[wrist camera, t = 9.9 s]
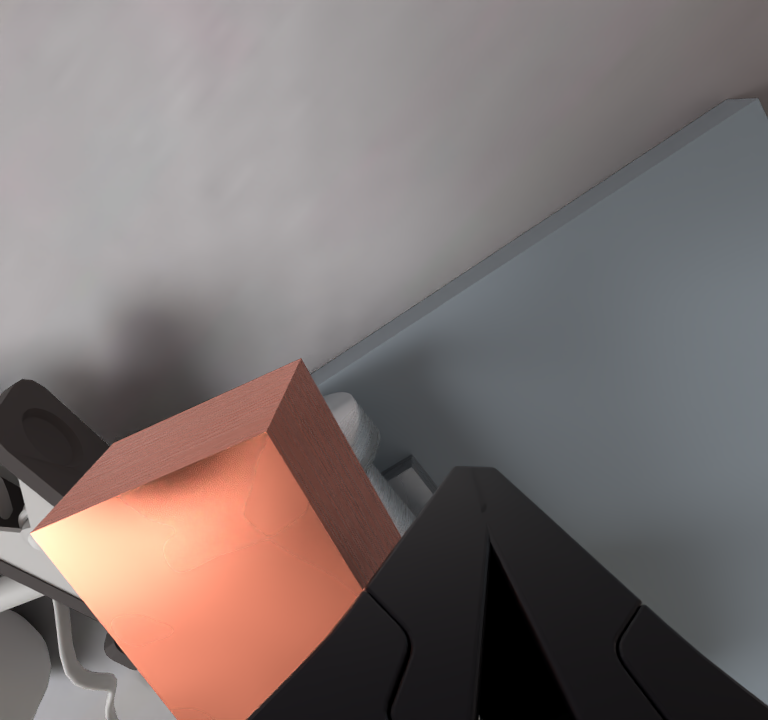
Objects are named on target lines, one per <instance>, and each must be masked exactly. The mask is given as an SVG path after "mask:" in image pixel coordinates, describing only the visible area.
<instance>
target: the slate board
mask: <svg viewBox="0 0 768 720" xmlns="http://www.w3.org/2000/svg"><path fill="white" fill-rule="evenodd" d="M311 377H312V379H313V380H314V382H315V384H316V386H317V387H318V389H319V391H320V393H321V395H322V396H326V395H329V394H332V393H337V392H346V393H349V394H351V395H352V396H353V398H354V399H355V400H356V402H357V403H358V404H359V405H360V407H361V408H362V409H363V410H364V412H365V413H366V414H367V416H368V417H369V418H370V419H371V421H372V422H373V423H374V425H375V426H376V427H377V428H378V430H379V433H380V445H379V449H378V452H377V454H376V457H375V459H374V461H373V464H374V465H375V467H376V468H377V469H378V470H379V472H380V473H381V472H382V471H384V470H386V469H387V468H389V467H391V466H392V465H394V464H396V463H397V462H399V461H401V460H402V459H404V458H406V457H407V456H409V455H411V454H413V456H414V457H415V458H416V459H417V461H418V462H419V463H420V465H421V466H422V467H423V468H424V470H425V471H426V472H427V474H428V475H429V476H430V478H431V479H432V480H433V481H434V483H435V484H436V485H437V487H439V486H440V484H441V483H442V482H443V480H444V479H445V478H446V476H447V475H448V473H449V472H450V471H451V469H452V468H453V467H455V466H478V467H494V468H496V469H497V470H499V471H500V472H501V473H502V474H503V475H504V476H505V477H506V478H507V479H508V480H510V481H511V482H512V483H513V484H514V485H515V486H516V487H517V488H518V489H519V490H521V491H522V492H523V493H524V494H525V495H526V496H527V497H528V498H529V499H530V500H532V501H533V502H534V503H535V504H536V505H537V506H538V507H539V508H540V509H541V510H543V511H544V512H545V513H546V514H547V515H548V516H549V517H550V518H551V519H552V520H554V521H555V522H556V523H557V524H558V525H559V526H560V527H561V528H562V529H563V530H565V531H566V532H567V533H568V534H569V535H570V536H571V537H572V538H573V539H574V540H576V541H577V542H578V543H579V544H580V545H581V546H582V547H583V548H584V549H585V550H587V551H588V552H589V553H590V554H591V555H592V556H593V557H594V558H595V559H596V560H598V561H599V562H600V563H601V564H602V565H603V566H604V567H605V568H606V569H607V570H609V571H610V572H611V573H612V574H613V575H614V576H615V577H616V578H617V579H618V580H620V581H621V582H622V583H623V584H624V585H625V586H626V587H627V588H628V589H629V590H631V591H632V592H633V593H634V594H635V595H636V596H637V597H638V598H639V599H640V600H641V601H642V603H643V605H647V606H648V607H650V608H651V609H652V610H653V611H654V612H655V613H656V614H657V615H658V616H660V617H661V618H662V619H663V620H664V621H665V622H666V623H667V624H668V625H669V626H671V627H672V628H673V629H674V630H675V631H676V632H678V633H679V634H680V635H681V636H682V637H683V638H685V639H686V640H687V641H688V642H689V643H690V644H691V645H693V646H694V647H695V648H696V649H697V650H698V651H700V652H701V653H702V654H703V655H704V656H705V657H707V658H708V659H709V660H710V661H712V662H713V663H714V664H716V665H717V666H718V667H719V668H721V669H722V670H723V671H724V672H726V673H727V674H728V675H729V676H731V677H732V678H733V679H734V680H736V681H737V682H738V683H740V684H741V685H742V686H743V687H745V688H746V689H747V690H748V691H750V692H751V693H752V694H754V695H755V696H756V697H758V698H759V699H760V700H761V701H763V702H764V703H765V704H767V705H768V118H767V116H766V113H765V111H764V109H763V107H762V105H761V103H760V101H759V99H758V98H749V99H727V100H725V101H724V102H722V103H721V104H719V105H717V106H716V107H714V108H713V109H711V110H710V111H708V112H707V113H705V114H704V115H702V116H701V117H699V118H698V119H696V120H695V121H693V122H692V123H690V124H689V125H687V126H686V127H684V128H683V129H681V130H680V131H678V132H677V133H675V134H674V135H672V136H671V137H669V138H668V139H666V140H665V141H663V142H662V143H660V144H659V145H657V146H655V147H654V148H652V149H651V150H649V151H648V152H646V153H645V154H643V155H642V156H640V157H639V158H637V159H636V160H634V161H633V162H631V163H630V164H628V165H627V166H625V167H624V168H622V169H621V170H619V171H618V172H616V173H615V174H613V175H612V176H610V177H609V178H607V179H606V180H604V181H603V182H601V183H600V184H598V185H596V186H595V187H593V188H592V189H590V190H589V191H587V192H586V193H584V194H583V195H581V196H580V197H578V198H577V199H575V200H574V201H572V202H571V203H569V204H568V205H566V206H565V207H563V208H562V209H560V210H559V211H557V212H556V213H554V214H553V215H551V216H550V217H548V218H547V219H545V220H544V221H542V222H541V223H539V224H538V225H536V226H534V227H533V228H531V229H530V230H528V231H527V232H525V233H524V234H522V235H521V236H519V237H518V238H516V239H515V240H513V241H512V242H510V243H509V244H507V245H506V246H504V247H503V248H501V249H500V250H498V251H497V252H495V253H494V254H492V255H491V256H489V257H488V258H486V259H485V260H483V261H482V262H480V263H479V264H477V265H476V266H474V267H472V268H471V269H469V270H468V271H466V272H465V273H463V274H462V275H460V276H459V277H457V278H456V279H454V280H453V281H451V282H450V283H448V284H447V285H445V286H444V287H442V288H441V289H439V290H438V291H436V292H435V293H433V294H432V295H430V296H429V297H427V298H426V299H424V300H423V301H421V302H420V303H418V304H417V305H415V306H413V307H412V308H410V309H409V310H407V311H406V312H404V313H403V314H401V315H400V316H398V317H397V318H395V319H394V320H392V321H391V322H389V323H388V324H386V325H385V326H383V327H382V328H380V329H379V330H377V331H376V332H374V333H373V334H371V335H370V336H368V337H367V338H365V339H364V340H362V341H361V342H359V343H358V344H356V345H355V346H353V347H351V348H350V349H348V350H347V351H345V352H344V353H342V354H341V355H339V356H338V357H336V358H335V359H333V360H332V361H330V362H329V363H327V364H326V365H324V366H323V367H321V368H320V369H318V370H317V371H315V372H314V373H312V374H311Z"/></svg>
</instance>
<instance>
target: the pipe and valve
mask: <svg viewBox="0 0 768 720" xmlns="http://www.w3.org/2000/svg"><path fill="white" fill-rule="evenodd" d="M323 398H324V400H325V402H326V403H327V405H328V407H329V409H330V411H331V412H332V414H333V416H334V418H335V419H336V421H337V423H338V425H339V427H340V428H341V430H342V432H343V434H344V435H345V437H346V439H347V441H348V443H349V444H350V446H351V448H352V450H353V451H354V453H355V455H356V457H357V459H358V460H359V462H360V464H361V466H362V467H363V469H364V471H365V473H366V475H367V476H368V478H369V480H370V482H371V483H372V485H373V487H374V489H375V491H376V492H377V494H378V496H379V498H380V499H381V501H382V503H383V505H384V507H385V508H386V510H387V512H388V514H389V515H390V517H391V519H392V521H393V523H394V524H395V526H396V528H397V530H398V531H399V533H400V535H401V537H402V536H403V534H404V533H405V532H406V530H407V529H408V528H409V526H410V525H411V524H412V522H413V521H414V519H415V518H416V517H417V515H418V514H419V513H420V511H421V510H422V509H423V507H424V506H425V505H426V503H427V502H428V501H429V499H430V498H431V496H432V495H433V494H434V492H435V491H436V490H437V488H438V487H437V485H436V484H435V483H434V481H433V480H432V479H431V478H430V476H429V475H428V474H427V472H426V471H425V470H424V468H423V467H422V466H421V465H420V463H419V462H418V461H417V459H416V458H415V457H414V456H413V454H411V455H409V456H407V457H406V458H404V459H402V460H401V461H399V462H397V463H396V464H394V465H392V466H391V467H389V468H387V469H386V470H384V471H382V472H381V473H380V472H379V470H378V469H377V468H376V467H375V465H374V464H373V461H374V459H375V457H376V454H377V452H378V449H379V445H380V433H379V430H378V428H377V427H376V426H375V425H374V423H373V422H372V421H371V419H370V418H369V417H368V416H367V414H366V413H365V412H364V410H363V409H362V408H361V407H360V405H359V404H358V403H357V402H356V400H355V399H354V398H353V396H352V395H351V394H349V393H346V392H337V393H332V394H329V395H326V396H323ZM479 720H480V718H479Z"/></svg>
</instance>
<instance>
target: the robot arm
mask: <svg viewBox="0 0 768 720" xmlns="http://www.w3.org/2000/svg"><path fill="white" fill-rule="evenodd" d="M479 718H480V720H768V705H767V704H765V703H764V702H763V701H761V700H760V699H759V698H758V697H756V696H755V695H754V694H752V693H751V692H750V691H748V690H747V689H746V688H745V687H743V686H742V685H741V684H740V683H738V682H737V681H736V680H734V679H733V678H732V677H731V676H729V675H728V674H727V673H726V672H724V671H723V670H722V669H721V668H719V667H718V666H717V665H716V664H714V663H713V662H712V661H710V660H709V659H708V658H707V657H705V656H704V655H703V654H702V653H701V652H700V651H698V650H697V649H696V648H695V647H694V646H693V645H691V644H690V643H689V642H688V641H687V640H686V639H685V638H683V637H682V636H681V635H680V634H679V633H678V632H676V631H675V630H674V629H673V628H672V627H671V626H669V625H668V624H667V623H666V622H665V621H664V620H663V619H662V618H661V617H660V616H658V615H657V614H656V613H655V612H654V611H653V610H652V609H651V608H650V607H648V606H647V605H643V603H642V601H641V600H640V599H639V598H638V597H637V596H636V595H635V594H634V593H633V592H632V591H631V590H629V589H628V588H627V587H626V586H625V585H624V584H623V583H622V582H621V581H620V580H618V579H617V578H616V577H615V576H614V575H613V574H612V573H611V572H610V571H609V570H607V569H606V568H605V567H604V566H603V565H602V564H601V563H600V562H599V561H598V560H596V559H595V558H594V557H593V556H592V555H591V554H590V553H589V552H588V551H587V550H585V549H584V548H583V547H582V546H581V545H580V544H579V543H578V542H577V541H576V540H574V539H573V538H572V537H571V536H570V535H569V534H568V533H567V532H566V531H565V530H563V529H562V528H561V527H560V526H559V525H558V524H557V523H556V522H555V521H554V520H552V519H551V518H550V517H549V516H548V515H547V514H546V513H545V512H544V511H543V510H541V509H540V508H539V507H538V506H537V505H536V504H535V503H534V502H533V501H532V500H530V499H529V498H528V497H527V496H526V495H525V494H524V493H523V492H522V491H521V490H519V489H518V488H517V487H516V486H515V485H514V484H513V483H512V482H511V481H510V480H508V479H507V478H506V477H505V476H504V475H503V474H502V473H501V472H500V471H499V470H497V469H496V468H494V467H478V466H455V467H453V468H452V469H451V471H450V472H449V473H448V475H447V476H446V478H445V479H444V480H443V482H442V483H441V484H440V486H439V487H438V488H437V490H436V491H435V492H434V494H433V495H432V496H431V498H430V499H429V501H428V502H427V503H426V505H425V506H424V507H423V509H422V510H421V511H420V513H419V514H418V515H417V517H416V518H415V519H414V521H413V522H412V524H411V525H410V526H409V528H408V529H407V530H406V532H405V533H404V534H403V536H402V537H401V538H400V540H399V541H398V543H397V544H396V545H395V547H394V548H393V549H392V551H391V552H390V553H389V555H388V556H387V557H386V559H385V560H384V561H383V563H382V564H381V566H380V567H379V568H378V570H377V571H376V572H375V574H374V575H373V576H372V578H371V579H370V580H369V582H368V583H367V585H366V586H365V587H364V589H363V591H362V592H360V593H359V595H358V596H357V598H356V599H355V600H354V602H353V603H352V604H351V606H350V607H349V608H348V610H347V611H346V612H345V614H344V615H343V616H342V617H341V619H340V620H339V621H338V622H337V624H336V625H335V626H334V627H333V629H332V630H331V631H330V632H329V634H328V635H327V636H326V637H325V638H324V639H323V640H322V642H321V643H320V644H319V645H318V646H317V647H316V648H315V649H314V650H313V651H312V652H311V653H310V654H309V655H308V656H307V658H306V659H305V660H304V661H303V662H302V663H301V664H300V665H299V666H298V667H297V668H296V669H295V670H294V671H293V672H292V673H291V674H290V675H289V676H288V677H287V678H286V679H285V680H284V681H283V682H282V683H281V684H280V685H279V686H278V687H277V688H276V689H275V690H274V691H273V692H272V693H271V694H270V695H269V696H268V697H267V698H266V699H265V700H264V701H263V702H262V703H261V704H260V705H259V706H258V707H257V708H256V709H255V710H254V711H253V712H252V713H251V714H250V715H249V716H248V717H247V718H246V719H245V720H479Z"/></svg>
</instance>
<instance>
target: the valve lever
mask: <svg viewBox="0 0 768 720" xmlns="http://www.w3.org/2000/svg"><path fill="white" fill-rule="evenodd" d="M30 534H31V535H32V536H33V538H34V539H35V540H36V542H37V543H38V544H39V545H40V547H41V548H42V549H43V550H44V552H45V553H46V554H47V555H48V557H49V558H50V559H51V560H52V562H53V563H54V564H55V566H56V567H57V568H58V569H59V571H60V572H61V573H62V574H63V576H64V577H65V578H66V579H67V581H68V582H69V583H70V585H71V586H72V587H73V588H74V590H75V591H76V592H77V593H78V595H79V596H80V597H81V598H82V600H83V601H84V602H85V604H86V605H87V606H88V607H89V609H90V610H91V611H92V612H93V614H94V615H95V616H96V617H97V619H98V620H99V621H100V623H101V624H102V625H103V626H104V628H105V629H106V630H107V631H108V633H109V634H110V635H111V636H112V638H113V639H114V640H115V641H116V643H117V644H118V645H119V647H120V648H121V649H122V650H123V652H124V653H125V654H126V655H127V657H128V658H129V659H130V660H131V662H132V663H133V664H134V666H135V667H136V668H137V669H138V671H139V672H140V673H141V674H142V676H143V677H144V678H145V679H146V681H147V682H148V683H149V685H150V686H151V687H152V688H153V690H154V691H155V692H156V693H157V695H158V696H159V697H160V698H161V700H162V701H163V702H164V704H165V705H166V706H167V707H168V709H169V710H170V711H171V712H172V714H173V715H174V716H175V717H176V719H177V720H245V719H246V718H247V717H248V716H249V715H250V714H251V713H252V712H253V711H254V710H255V709H256V708H257V707H258V706H259V705H260V704H261V703H262V702H263V701H264V700H265V699H266V698H267V697H268V696H269V695H270V694H271V693H272V692H273V691H274V690H275V689H276V688H277V687H278V686H279V685H280V684H281V683H282V682H283V681H284V680H285V679H286V678H287V677H288V676H289V675H290V674H291V673H292V672H293V671H294V670H295V669H296V668H297V667H298V666H299V665H300V664H301V663H302V662H303V661H304V660H305V659H306V658H307V656H308V655H309V654H310V653H311V652H312V651H313V650H314V649H315V648H316V647H317V646H318V645H319V644H320V643H321V642H322V640H323V639H324V638H325V637H326V636H327V635H328V634H329V632H330V631H331V630H332V629H333V627H334V626H335V625H336V624H337V622H338V621H339V620H340V619H341V617H342V616H343V615H344V614H345V612H346V611H347V610H348V608H349V607H350V606H351V604H352V603H353V602H354V600H355V599H356V598H357V596H358V595H359V593H360V592H362V591H363V589H364V587H365V586H366V585H367V583H368V582H369V580H370V579H371V578H372V576H373V575H374V574H375V572H376V571H377V570H378V568H379V567H380V566H381V564H382V563H383V561H384V560H385V559H386V557H387V556H388V555H389V553H390V552H391V551H392V549H393V548H394V547H395V545H396V544H397V543H398V541H399V540H400V538H401V535H400V533H399V531H398V530H397V528H396V526H395V524H394V523H393V521H392V519H391V517H390V515H389V514H388V512H387V510H386V508H385V507H384V505H383V503H382V501H381V499H380V498H379V496H378V494H377V492H376V491H375V489H374V487H373V485H372V483H371V482H370V480H369V478H368V476H367V475H366V473H365V471H364V469H363V467H362V466H361V464H360V462H359V460H358V459H357V457H356V455H355V453H354V451H353V450H352V448H351V446H350V444H349V443H348V441H347V439H346V437H345V435H344V434H343V432H342V430H341V428H340V427H339V425H338V423H337V421H336V419H335V418H334V416H333V414H332V412H331V411H330V409H329V407H328V405H327V403H326V402H325V400H324V398H323V396H322V395H321V393H320V391H319V389H318V387H317V386H316V384H315V382H314V380H313V379H312V377H311V375H310V373H309V371H308V370H307V368H306V366H305V364H304V363H303V361H302V359H299V360H296V361H294V362H292V363H290V364H287V365H285V366H283V367H281V368H279V369H276V370H274V371H272V372H270V373H267V374H265V375H263V376H261V377H259V378H256V379H254V380H252V381H250V382H248V383H245V384H243V385H241V386H239V387H236V388H234V389H232V390H230V391H228V392H225V393H223V394H221V395H219V396H217V397H214V398H212V399H210V400H208V401H205V402H203V403H201V404H199V405H197V406H194V407H192V408H190V409H188V410H186V411H183V412H181V413H179V414H177V415H174V416H172V417H170V418H168V419H166V420H163V421H161V422H159V423H157V424H155V425H152V426H150V427H148V428H146V429H143V430H141V431H139V432H137V433H135V434H132V435H130V436H128V437H126V438H123V439H121V440H119V441H117V442H115V443H113V444H112V445H111V446H110V447H109V448H108V449H107V451H106V452H105V453H104V454H103V455H102V456H101V457H100V458H99V459H98V460H97V461H96V462H95V464H94V465H93V466H92V467H91V468H90V469H89V470H88V471H87V472H86V473H85V474H84V475H83V477H82V478H81V479H80V480H79V481H78V482H77V483H76V484H75V485H74V486H73V487H72V488H71V490H70V491H69V492H68V493H67V494H66V495H65V496H64V497H63V498H62V499H61V500H60V501H59V503H58V504H57V505H56V506H55V507H54V508H53V509H52V510H51V511H50V512H49V513H48V514H47V516H46V517H45V518H44V519H43V520H42V521H41V522H40V523H39V524H38V525H37V526H36V527H35V529H34V530H33V531H32V532H31V533H30Z"/></svg>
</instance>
